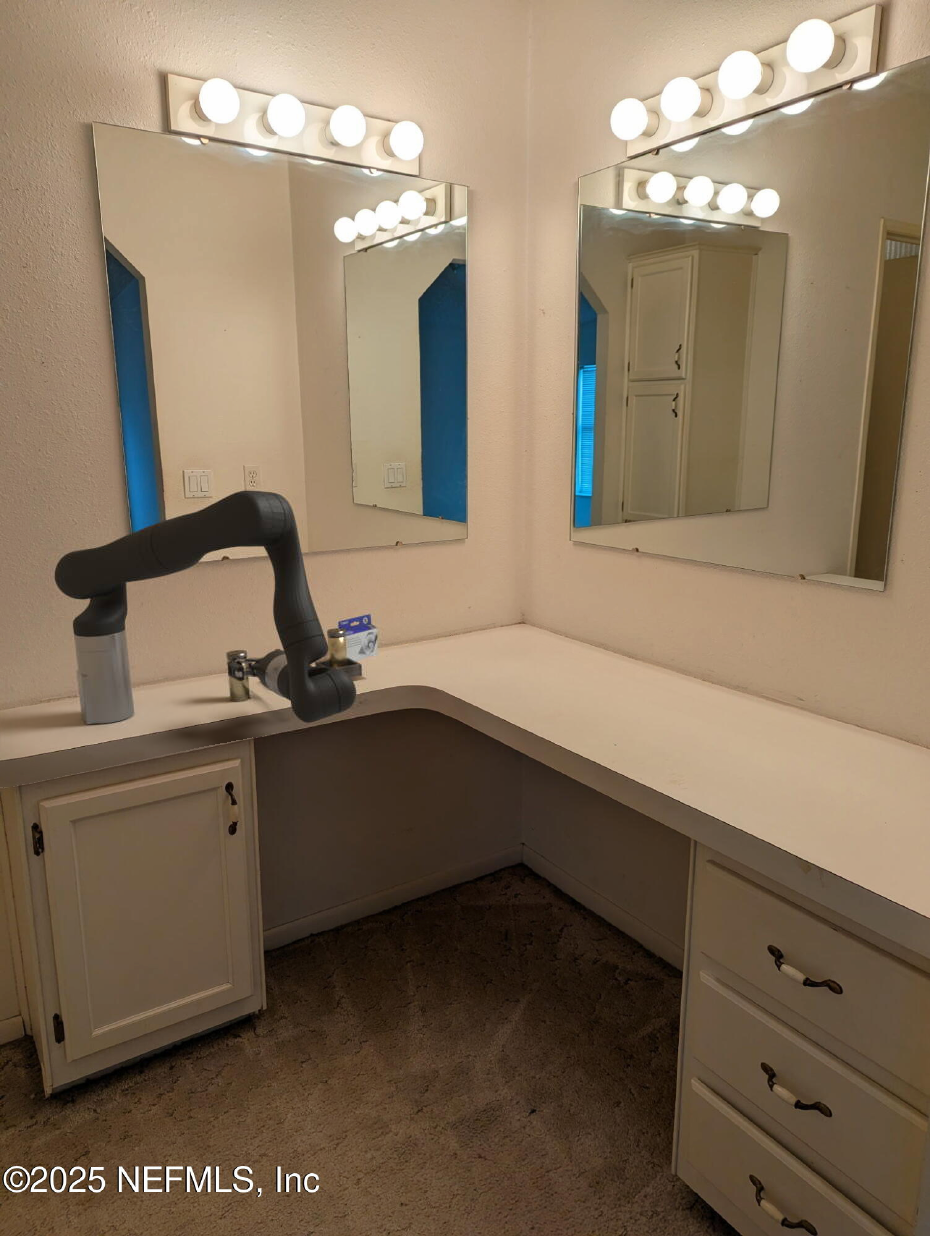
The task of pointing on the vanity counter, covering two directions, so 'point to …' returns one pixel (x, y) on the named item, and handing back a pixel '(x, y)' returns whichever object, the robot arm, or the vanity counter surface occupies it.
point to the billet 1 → (237, 688)
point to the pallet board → (347, 669)
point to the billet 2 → (337, 647)
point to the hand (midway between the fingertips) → (255, 657)
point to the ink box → (360, 637)
